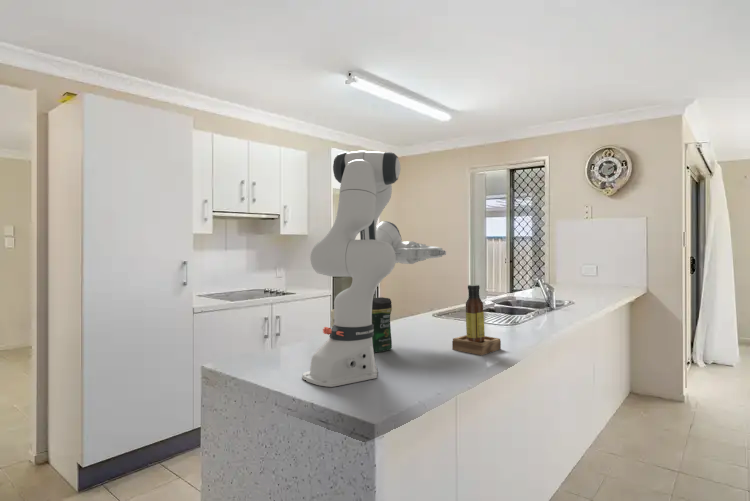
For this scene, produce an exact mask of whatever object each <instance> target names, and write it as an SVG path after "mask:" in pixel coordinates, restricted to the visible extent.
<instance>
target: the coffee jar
mask: <svg viewBox="0 0 750 501" xmlns="http://www.w3.org/2000/svg"><path fill="white" fill-rule="evenodd" d="M392 306H393V305H392V300H391V298H389V297H382V296H381V297H373V302H372V324H373V330H374V331H373V336H372V342H373V349H374V353H382V352H387V351H391V350H392V348H393V342H392V332H391V331H392V329H391V313H392V312H393V311H392V310H393V307H392Z"/></svg>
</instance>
